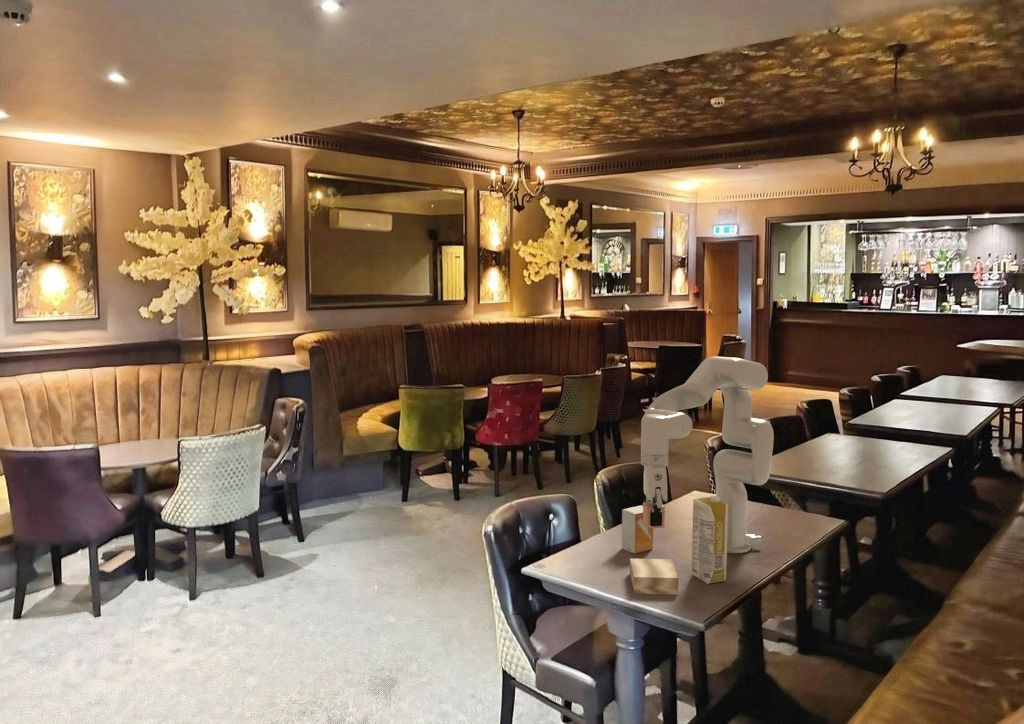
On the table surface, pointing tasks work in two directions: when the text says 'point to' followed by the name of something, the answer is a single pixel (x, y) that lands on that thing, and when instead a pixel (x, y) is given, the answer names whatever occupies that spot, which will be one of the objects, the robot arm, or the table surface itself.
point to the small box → (635, 531)
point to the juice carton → (709, 539)
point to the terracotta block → (647, 515)
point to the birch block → (653, 576)
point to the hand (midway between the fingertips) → (653, 521)
